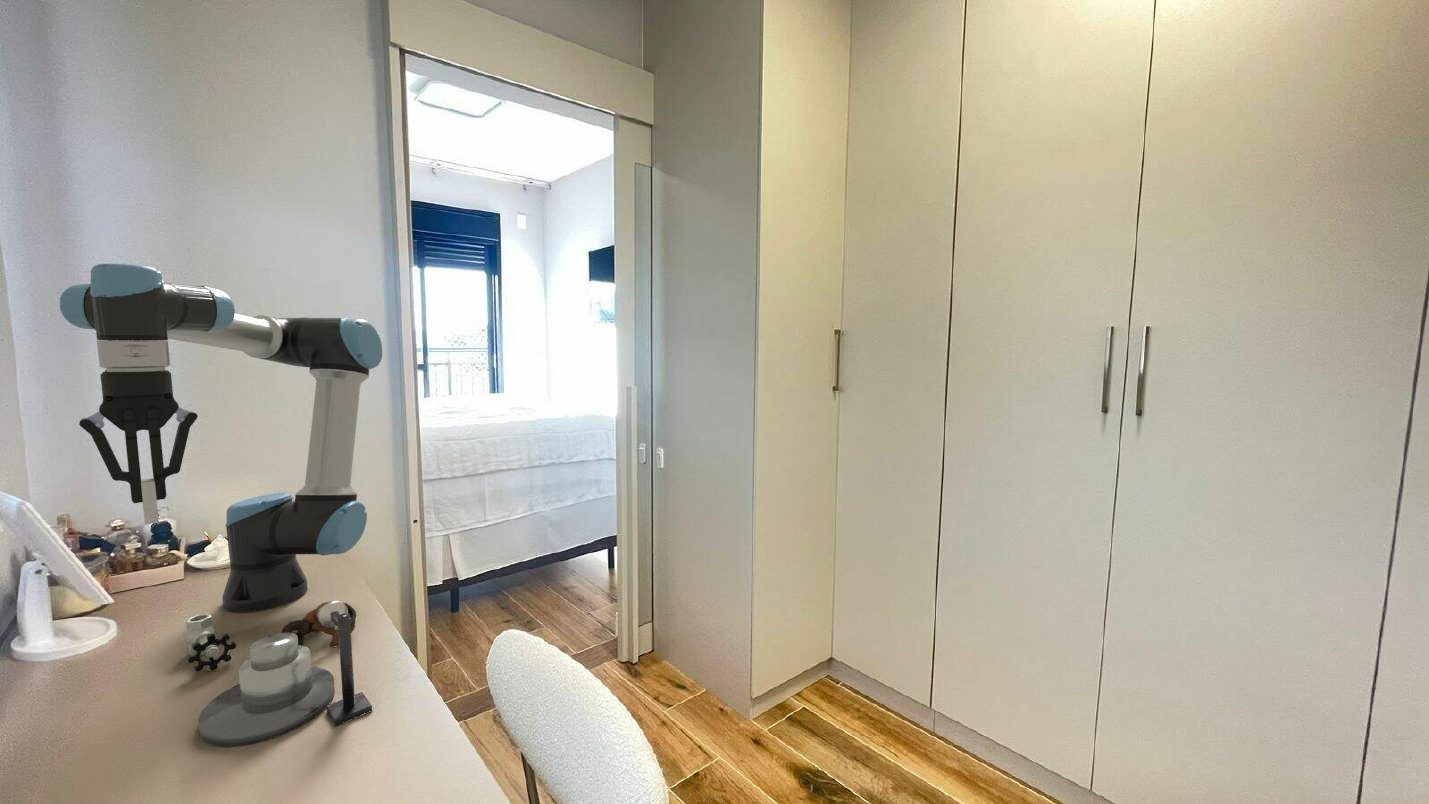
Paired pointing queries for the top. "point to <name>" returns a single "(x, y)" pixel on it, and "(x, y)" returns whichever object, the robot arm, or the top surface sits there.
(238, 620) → the top surface
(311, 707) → the grey metal flat disc
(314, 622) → the brown irregular ringed piece
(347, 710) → the dial stand
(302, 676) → the cover
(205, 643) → the valve
